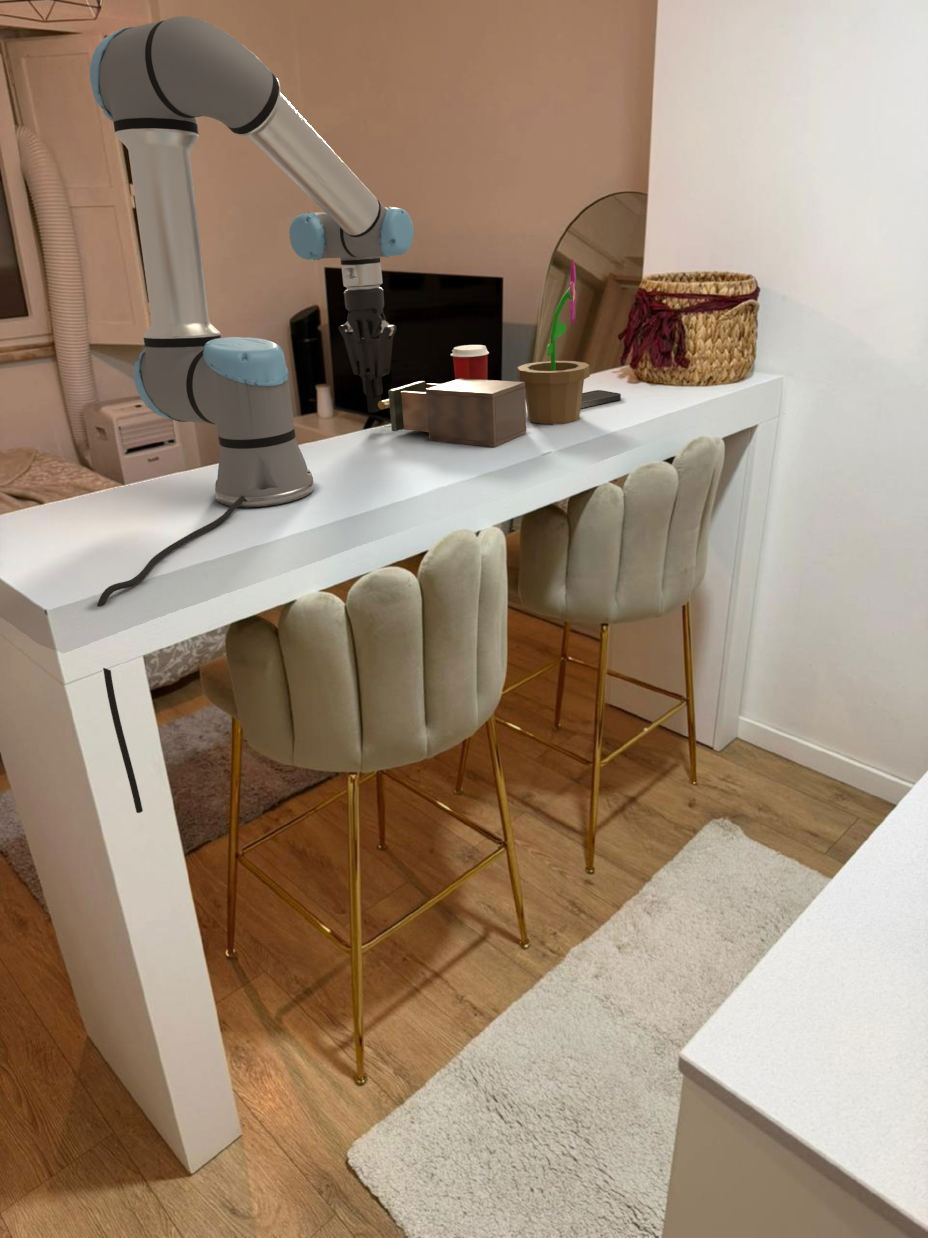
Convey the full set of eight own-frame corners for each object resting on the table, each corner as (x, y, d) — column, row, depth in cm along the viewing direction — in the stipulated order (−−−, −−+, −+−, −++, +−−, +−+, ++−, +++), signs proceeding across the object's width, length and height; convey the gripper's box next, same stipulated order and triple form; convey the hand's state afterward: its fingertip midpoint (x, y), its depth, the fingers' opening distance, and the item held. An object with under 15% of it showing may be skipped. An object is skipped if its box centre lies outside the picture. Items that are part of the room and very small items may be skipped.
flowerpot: (587, 425, 172) (588, 259, 159) (514, 426, 174) (509, 262, 162) (591, 410, 184) (592, 254, 172) (522, 411, 187) (518, 258, 174)
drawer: (374, 429, 175) (370, 389, 172) (406, 418, 183) (403, 379, 180) (448, 436, 166) (445, 394, 163) (478, 424, 173) (476, 384, 170)
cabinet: (429, 440, 168) (425, 388, 164) (463, 427, 176) (460, 377, 172) (494, 447, 160) (492, 393, 156) (526, 433, 169) (525, 381, 165)
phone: (623, 393, 192) (571, 404, 184) (623, 399, 193) (571, 410, 185) (598, 389, 198) (546, 399, 190) (597, 394, 198) (546, 405, 191)
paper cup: (492, 411, 188) (490, 343, 182) (490, 419, 181) (487, 348, 176) (456, 413, 189) (452, 345, 183) (452, 420, 182) (448, 350, 176)
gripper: (324, 289, 171) (338, 412, 181) (377, 289, 164) (389, 416, 174) (349, 285, 176) (362, 405, 186) (401, 285, 170) (411, 409, 179)
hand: (375, 410), depth 180 cm, fingers closed
